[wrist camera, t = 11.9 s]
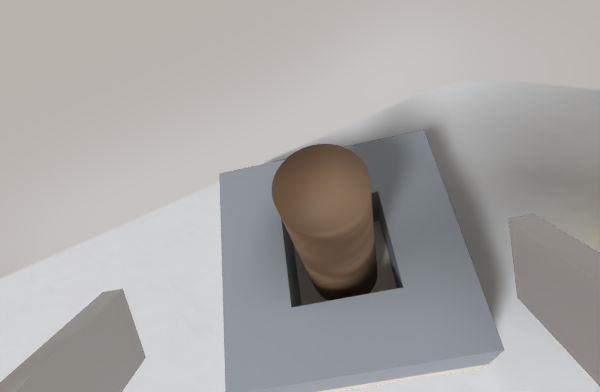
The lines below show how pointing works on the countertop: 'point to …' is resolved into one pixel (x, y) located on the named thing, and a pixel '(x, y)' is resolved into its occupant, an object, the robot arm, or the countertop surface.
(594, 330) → the robot arm
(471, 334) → the socket block
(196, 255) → the countertop surface
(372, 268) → the pin
